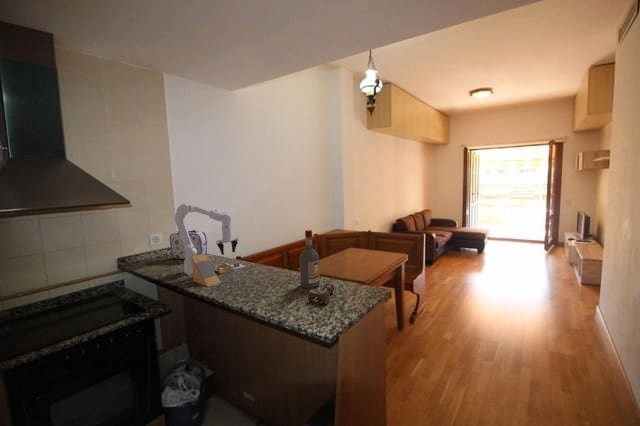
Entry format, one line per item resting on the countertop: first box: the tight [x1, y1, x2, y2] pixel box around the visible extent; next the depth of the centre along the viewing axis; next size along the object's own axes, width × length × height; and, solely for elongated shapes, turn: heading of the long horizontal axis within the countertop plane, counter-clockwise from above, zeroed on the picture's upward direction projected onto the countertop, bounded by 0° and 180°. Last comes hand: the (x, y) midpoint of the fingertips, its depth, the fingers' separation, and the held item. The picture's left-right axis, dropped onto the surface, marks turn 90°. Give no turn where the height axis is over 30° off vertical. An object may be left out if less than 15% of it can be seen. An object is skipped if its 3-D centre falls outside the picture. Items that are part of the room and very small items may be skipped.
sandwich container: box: [192, 254, 221, 287], centre depth 177 cm, size 9×15×15 cm, turn 51°
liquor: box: [299, 229, 321, 289], centre depth 166 cm, size 9×9×30 cm
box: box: [214, 262, 235, 275], centre depth 198 cm, size 10×8×3 cm
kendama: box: [307, 282, 335, 305], centre depth 148 cm, size 6×10×20 cm
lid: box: [231, 261, 246, 270], centre depth 207 cm, size 10×8×3 cm
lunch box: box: [169, 229, 209, 260], centre depth 230 cm, size 28×10×22 cm, turn 81°
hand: (228, 253), depth 201 cm, fingers open, 7 cm apart
